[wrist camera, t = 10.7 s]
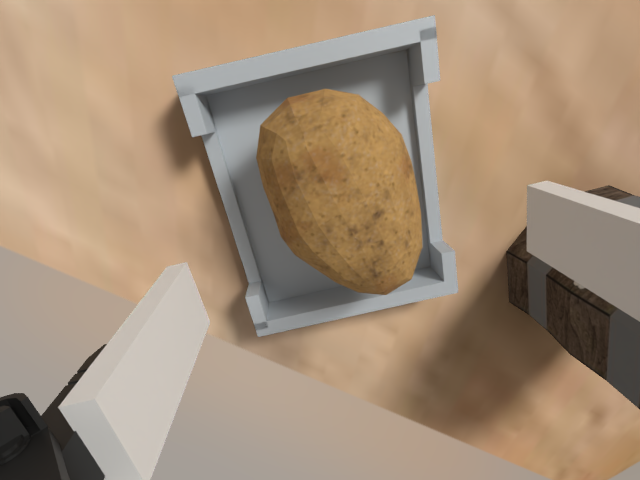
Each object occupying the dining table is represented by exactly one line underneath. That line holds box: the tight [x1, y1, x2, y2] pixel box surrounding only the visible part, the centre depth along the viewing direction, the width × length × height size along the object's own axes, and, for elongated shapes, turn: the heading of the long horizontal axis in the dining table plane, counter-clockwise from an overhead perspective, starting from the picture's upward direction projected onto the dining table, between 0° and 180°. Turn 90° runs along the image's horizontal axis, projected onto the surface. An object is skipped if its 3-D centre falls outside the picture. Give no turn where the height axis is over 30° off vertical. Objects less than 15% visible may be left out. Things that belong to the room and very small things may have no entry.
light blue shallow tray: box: [172, 15, 458, 337], centre depth 26 cm, size 19×16×4 cm
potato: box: [256, 89, 423, 295], centre depth 23 cm, size 10×14×8 cm
